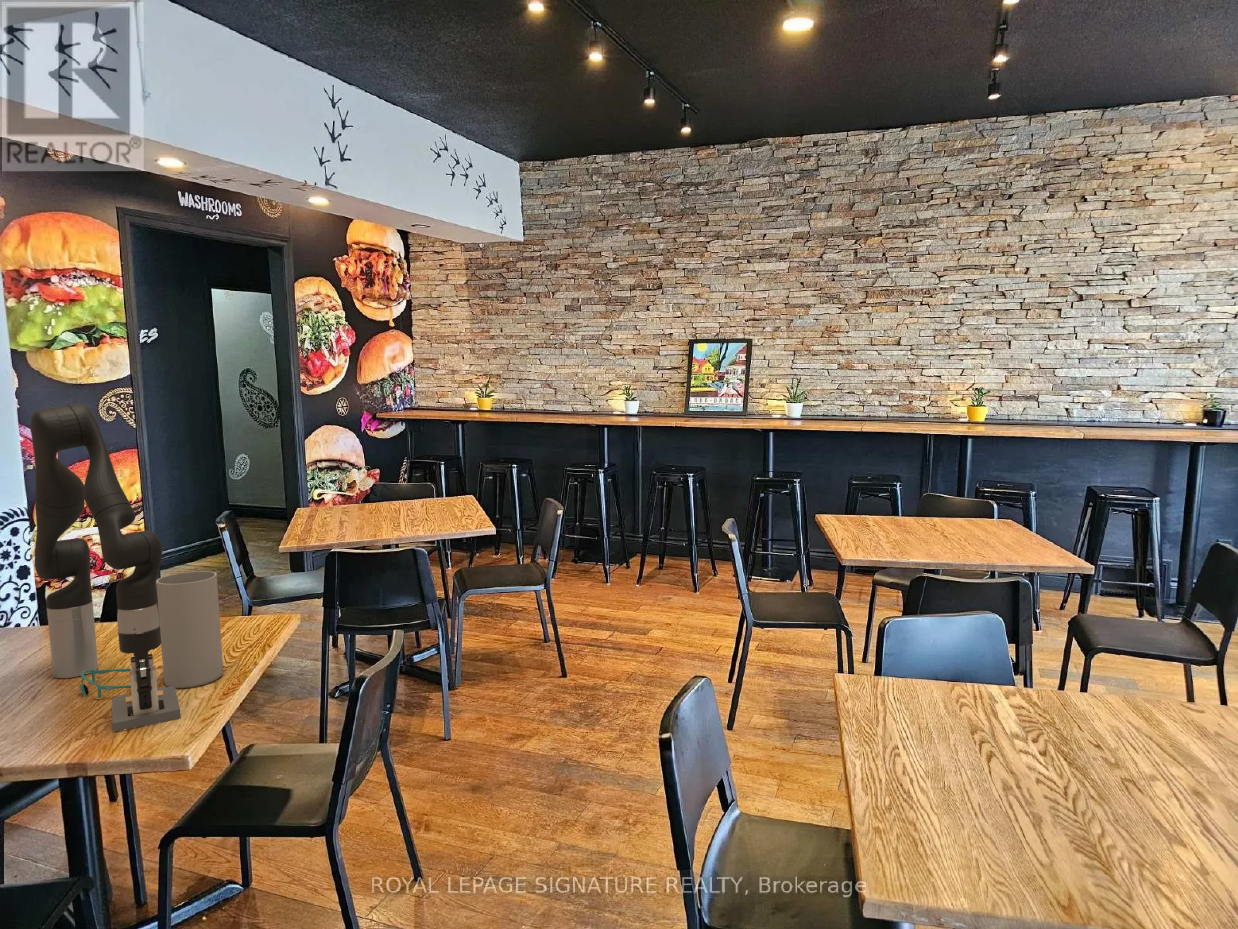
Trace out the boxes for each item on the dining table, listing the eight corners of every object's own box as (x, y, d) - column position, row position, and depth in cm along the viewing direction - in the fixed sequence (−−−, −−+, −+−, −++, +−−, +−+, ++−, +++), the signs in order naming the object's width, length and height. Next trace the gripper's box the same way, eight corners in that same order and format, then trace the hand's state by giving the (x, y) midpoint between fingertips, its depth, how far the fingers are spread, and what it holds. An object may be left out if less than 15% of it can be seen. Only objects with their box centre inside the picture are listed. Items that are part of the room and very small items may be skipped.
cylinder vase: (161, 677, 187) (153, 576, 184) (218, 666, 194) (211, 568, 191) (167, 693, 177) (159, 587, 174) (227, 680, 184) (220, 578, 181)
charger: (133, 710, 165) (129, 667, 164) (158, 705, 167) (154, 663, 166) (133, 716, 161) (129, 673, 160) (159, 711, 164) (155, 668, 163)
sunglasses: (76, 687, 182) (77, 666, 182) (149, 678, 192) (150, 658, 191) (82, 706, 171) (83, 683, 171) (159, 695, 181) (160, 674, 181)
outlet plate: (112, 706, 170) (111, 696, 170) (175, 693, 177) (174, 684, 176) (113, 733, 157) (112, 722, 157) (180, 718, 163) (179, 707, 163)
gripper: (117, 621, 166) (124, 698, 168) (118, 639, 154) (125, 721, 156) (158, 615, 170) (163, 690, 172) (161, 632, 158) (168, 712, 160)
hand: (145, 704), depth 164 cm, fingers closed on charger, 3 cm apart
